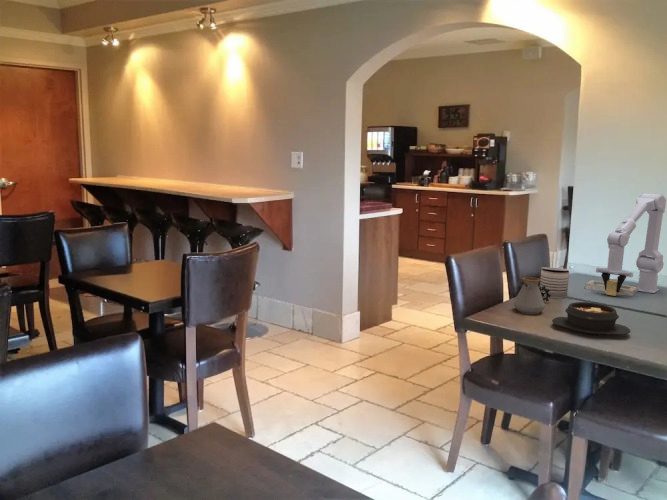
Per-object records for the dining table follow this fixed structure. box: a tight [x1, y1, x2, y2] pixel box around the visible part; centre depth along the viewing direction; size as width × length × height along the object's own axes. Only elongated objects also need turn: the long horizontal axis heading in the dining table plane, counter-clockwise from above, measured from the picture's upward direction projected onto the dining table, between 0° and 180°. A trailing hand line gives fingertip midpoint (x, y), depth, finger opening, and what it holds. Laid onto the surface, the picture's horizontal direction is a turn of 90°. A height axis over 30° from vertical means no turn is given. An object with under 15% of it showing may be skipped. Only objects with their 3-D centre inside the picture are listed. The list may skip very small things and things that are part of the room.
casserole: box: [551, 301, 631, 336], centre depth 207 cm, size 25×19×8 cm
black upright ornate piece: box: [538, 286, 551, 302], centre depth 242 cm, size 7×7×12 cm
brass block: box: [605, 278, 619, 297], centre depth 260 cm, size 4×4×6 cm
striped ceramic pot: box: [539, 266, 570, 299], centre depth 257 cm, size 11×11×12 cm
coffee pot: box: [513, 276, 546, 315], centre depth 225 cm, size 21×12×15 cm, turn 150°
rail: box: [584, 279, 639, 297], centre depth 270 cm, size 9×20×2 cm, turn 51°
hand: (612, 291), depth 260 cm, fingers closed on brass block, 4 cm apart
